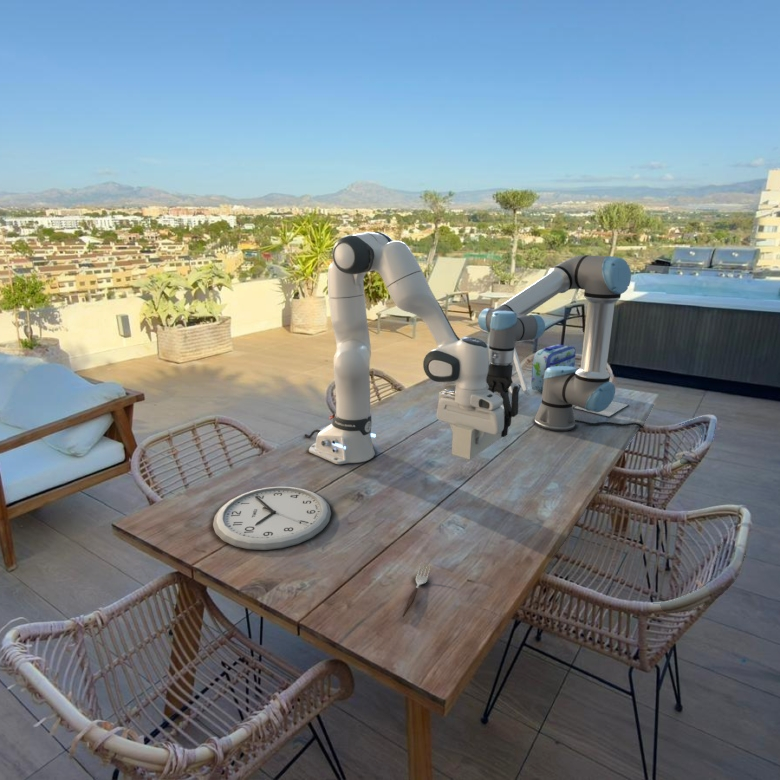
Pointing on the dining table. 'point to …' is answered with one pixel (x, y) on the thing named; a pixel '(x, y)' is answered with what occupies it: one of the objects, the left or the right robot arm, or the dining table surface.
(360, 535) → the dining table surface
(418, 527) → the dining table surface
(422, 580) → the fork
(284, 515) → the wall clock
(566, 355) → the lunch box
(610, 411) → the invitation card
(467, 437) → the bar
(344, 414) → the left robot arm
